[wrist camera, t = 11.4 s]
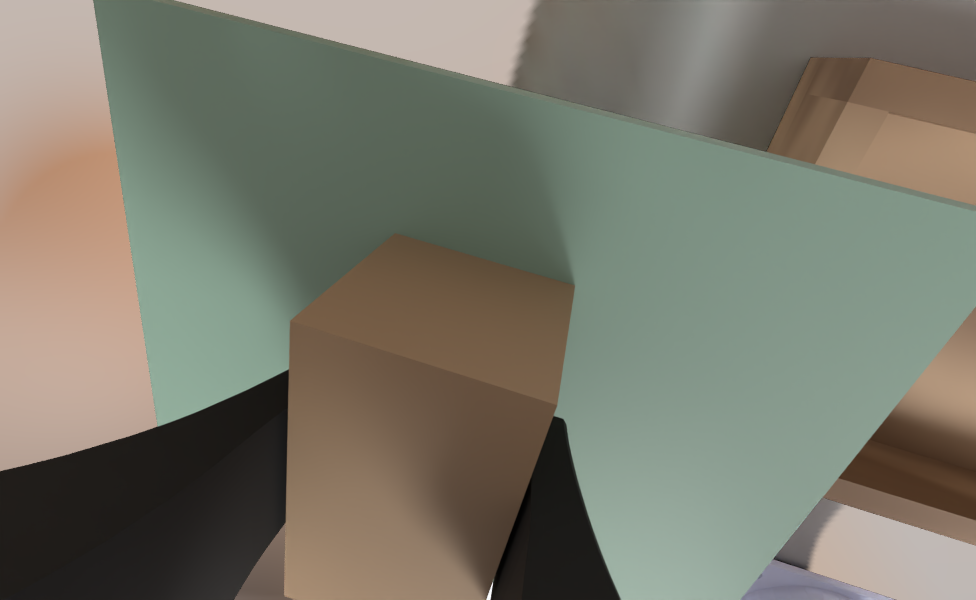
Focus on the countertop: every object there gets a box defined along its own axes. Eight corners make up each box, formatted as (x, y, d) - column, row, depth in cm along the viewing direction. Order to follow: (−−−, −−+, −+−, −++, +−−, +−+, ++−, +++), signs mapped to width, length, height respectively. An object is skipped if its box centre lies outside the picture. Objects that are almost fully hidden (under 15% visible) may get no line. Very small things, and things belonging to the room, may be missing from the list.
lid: (689, 607, 16) (724, 844, 11) (194, 436, 17) (40, 578, 13) (982, 205, 9) (1368, 361, 5) (148, -8, 11) (-202, -56, 6)
